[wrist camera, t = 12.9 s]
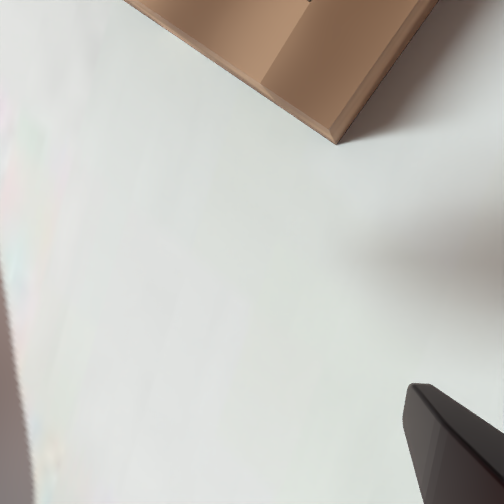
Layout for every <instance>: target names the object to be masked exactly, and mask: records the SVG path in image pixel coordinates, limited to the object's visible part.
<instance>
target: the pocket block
mask: <svg viewBox="0 0 504 504" xmlns="http://www.w3.org/2000/svg"><path fill="white" fill-rule="evenodd" d="M124 1H125V2H127V3H128V4H130V5H131V6H133V7H134V8H135V9H137V10H138V11H140V12H141V13H143V14H144V15H146V16H147V17H149V18H150V19H152V20H153V21H155V22H156V23H157V24H159V25H160V26H162V27H163V28H165V29H166V30H168V31H169V32H171V33H172V34H174V35H175V36H177V37H178V38H180V39H181V40H182V41H184V42H185V43H187V44H188V45H190V46H191V47H193V48H194V49H196V50H197V51H199V52H200V53H202V54H203V55H205V56H206V57H207V58H209V59H210V60H212V61H213V62H215V63H216V64H218V65H219V66H221V67H222V68H224V69H225V70H227V71H228V72H229V73H231V74H232V75H234V76H235V77H237V78H238V79H240V80H241V81H243V82H244V83H246V84H247V85H249V86H250V87H252V88H253V89H254V90H256V91H257V92H259V93H260V94H262V95H263V96H265V97H266V98H268V99H269V100H271V101H272V102H274V103H275V104H277V105H278V106H279V107H281V108H282V109H284V110H285V111H287V112H288V113H290V114H291V115H293V116H294V117H296V118H297V119H299V120H300V121H301V122H303V123H304V124H306V125H307V126H309V127H310V128H312V129H313V130H315V131H316V132H318V133H319V134H321V135H322V136H324V137H325V138H326V139H328V140H329V141H331V142H332V143H334V144H335V145H337V143H338V142H339V140H340V139H341V138H342V136H343V135H344V133H345V132H346V131H347V129H348V128H349V126H350V125H351V124H352V122H353V121H354V119H355V118H356V117H357V115H358V114H359V112H360V111H361V109H362V108H363V107H364V105H365V104H366V102H367V101H368V100H369V98H370V97H371V95H372V94H373V93H374V91H375V90H376V88H377V87H378V85H379V84H380V83H381V81H382V80H383V78H384V77H385V76H386V74H387V73H388V71H389V70H390V69H391V67H392V66H393V64H394V63H395V61H396V60H397V59H398V57H399V56H400V54H401V53H402V52H403V50H404V49H405V47H406V46H407V45H408V43H409V42H410V40H411V39H412V37H413V36H414V35H415V33H416V32H417V30H418V29H419V28H420V26H421V25H422V23H423V22H424V21H425V19H426V18H427V16H428V15H429V13H430V12H431V11H432V9H433V8H434V6H435V5H436V4H437V2H438V1H439V0H311V2H309V1H307V0H124Z"/></svg>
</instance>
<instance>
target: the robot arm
mask: <svg viewBox="0 0 504 504" xmlns="http://www.w3.org/2000/svg"><path fill="white" fill-rule="evenodd" d="M403 428H404V432H405V436H406V439H407V443H408V447H409V451H410V454H411V458H412V462H413V466H414V469H415V473H416V477H417V481H418V484H419V488H420V492H421V495H422V499H423V502H424V504H504V433H502V432H501V431H499V430H498V429H496V428H495V427H493V426H492V425H490V424H489V423H487V422H486V421H484V420H483V419H481V418H480V417H478V416H477V415H476V414H474V413H473V412H471V411H470V410H468V409H467V408H465V407H464V406H462V405H461V404H459V403H458V402H456V401H455V400H453V399H452V398H450V397H449V396H447V395H446V394H444V393H443V392H442V391H440V390H439V389H437V388H436V387H434V386H433V385H431V384H421V383H411V384H410V385H409V386H408V389H407V394H406V399H405V405H404V411H403Z"/></svg>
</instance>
